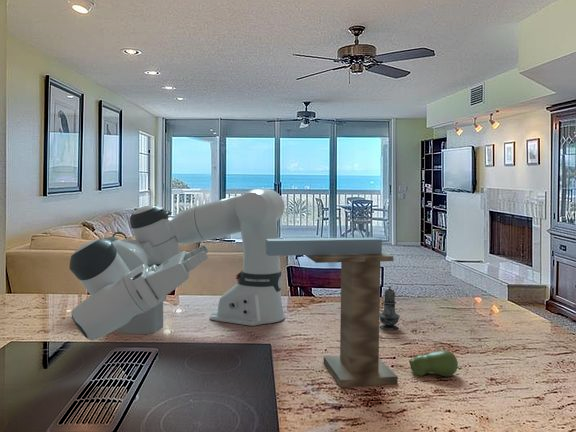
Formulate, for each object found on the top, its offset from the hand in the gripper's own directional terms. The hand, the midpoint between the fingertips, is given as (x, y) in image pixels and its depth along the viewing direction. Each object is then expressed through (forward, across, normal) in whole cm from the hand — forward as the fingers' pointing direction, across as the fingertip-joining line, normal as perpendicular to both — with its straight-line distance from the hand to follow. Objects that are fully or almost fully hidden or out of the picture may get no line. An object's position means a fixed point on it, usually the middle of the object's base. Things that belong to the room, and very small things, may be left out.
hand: (206, 250), depth 105 cm
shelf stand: (+12, +3, -38) cm, 40 cm away
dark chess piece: (+30, -28, -49) cm, 64 cm away
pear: (+27, +6, -48) cm, 55 cm away
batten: (+21, +4, -13) cm, 25 cm away
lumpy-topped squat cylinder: (-30, -38, -13) cm, 50 cm away
